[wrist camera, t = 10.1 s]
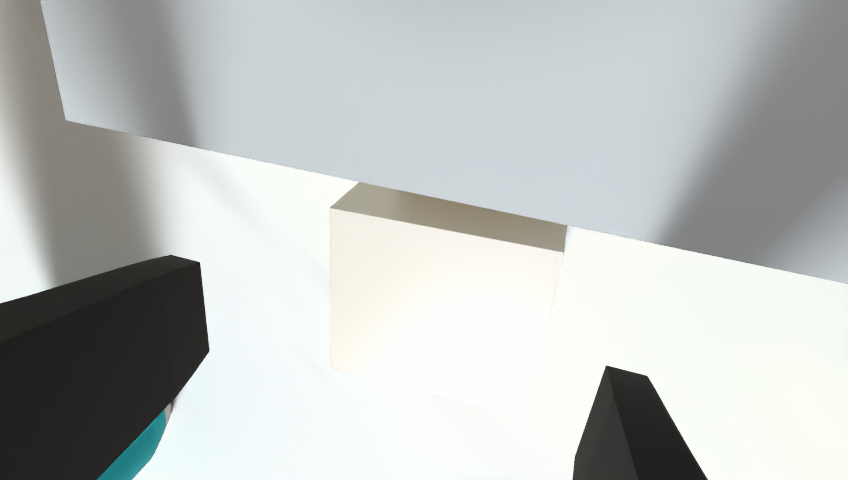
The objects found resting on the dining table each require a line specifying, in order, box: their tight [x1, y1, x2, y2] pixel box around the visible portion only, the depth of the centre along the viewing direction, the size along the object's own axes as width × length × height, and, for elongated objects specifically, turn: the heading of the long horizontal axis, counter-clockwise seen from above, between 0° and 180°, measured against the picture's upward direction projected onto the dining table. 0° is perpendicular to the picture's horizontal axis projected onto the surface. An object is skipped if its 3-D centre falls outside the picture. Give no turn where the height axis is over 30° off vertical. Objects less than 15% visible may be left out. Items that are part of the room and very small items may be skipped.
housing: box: [40, 0, 848, 284], centre depth 10 cm, size 12×5×6 cm, turn 84°
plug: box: [330, 182, 567, 418], centre depth 11 cm, size 4×12×5 cm, turn 176°
